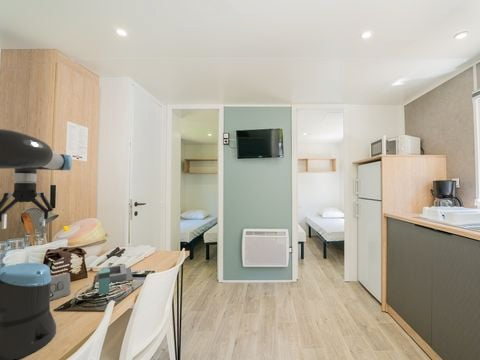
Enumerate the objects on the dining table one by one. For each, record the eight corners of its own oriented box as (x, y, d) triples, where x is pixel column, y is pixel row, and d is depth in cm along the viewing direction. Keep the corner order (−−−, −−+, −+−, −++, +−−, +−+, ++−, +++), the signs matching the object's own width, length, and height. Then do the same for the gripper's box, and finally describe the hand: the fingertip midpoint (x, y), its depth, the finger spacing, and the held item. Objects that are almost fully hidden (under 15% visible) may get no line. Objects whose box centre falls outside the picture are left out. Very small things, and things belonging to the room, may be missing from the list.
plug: (109, 294, 94) (109, 271, 95) (98, 297, 92) (98, 273, 93) (109, 290, 98) (109, 268, 98) (98, 292, 96) (99, 270, 96)
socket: (132, 281, 107) (133, 273, 107) (94, 289, 99) (94, 280, 99) (130, 269, 123) (130, 262, 123) (96, 275, 115) (97, 267, 115)
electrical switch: (42, 304, 87) (42, 280, 88) (39, 300, 90) (40, 278, 91) (71, 294, 94) (71, 273, 95) (67, 292, 97) (67, 271, 98)
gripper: (60, 182, 112) (59, 223, 111) (-9, 182, 99) (-11, 228, 98) (57, 182, 105) (56, 226, 105) (-17, 182, 92) (-19, 231, 92)
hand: (24, 227), depth 101 cm, fingers open, 13 cm apart
